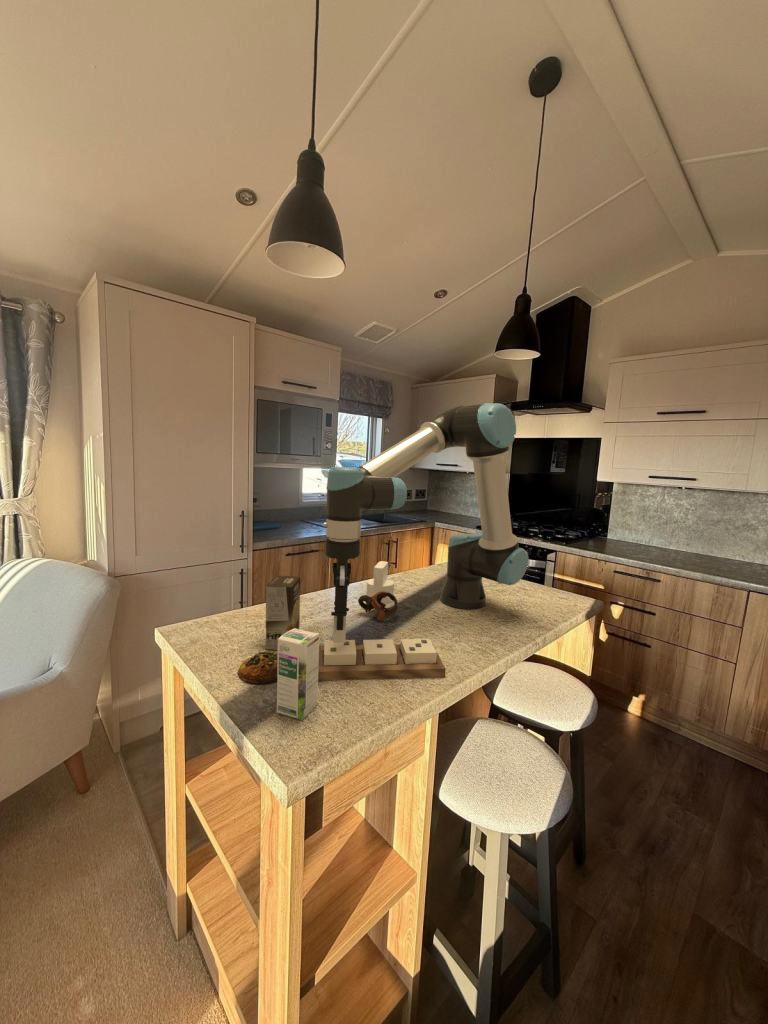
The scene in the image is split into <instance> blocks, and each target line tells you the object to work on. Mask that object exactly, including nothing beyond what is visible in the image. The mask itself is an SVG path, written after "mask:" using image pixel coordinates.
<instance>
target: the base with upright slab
mask: <svg viewBox="0 0 768 1024" xmlns="http://www.w3.org/2000/svg"><path fill="white" fill-rule="evenodd" d="M388 573H389V561H383V560H381V561H380V560H379V561H378V562H377V563H376V564H375V566H374V567H373V578H370V579H368V580H367V581H366V595H367V596H369V597H372V596H374V595H375V594H376V593H378V592H382V591H384V592H389V593H391V594H392V595H394V591H395V590H394V589H395V581H393V580H391V579H389V578H388V576H389V575H388ZM381 602H382V603H384V604H386V605H387V604H391V603H393V602H394V601H393V600H391V599H390V597H388V596H387V597H385V598H383V599H382V600H381Z"/></svg>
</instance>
